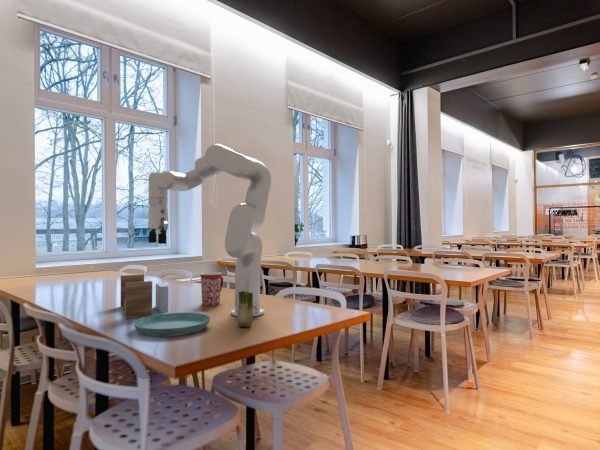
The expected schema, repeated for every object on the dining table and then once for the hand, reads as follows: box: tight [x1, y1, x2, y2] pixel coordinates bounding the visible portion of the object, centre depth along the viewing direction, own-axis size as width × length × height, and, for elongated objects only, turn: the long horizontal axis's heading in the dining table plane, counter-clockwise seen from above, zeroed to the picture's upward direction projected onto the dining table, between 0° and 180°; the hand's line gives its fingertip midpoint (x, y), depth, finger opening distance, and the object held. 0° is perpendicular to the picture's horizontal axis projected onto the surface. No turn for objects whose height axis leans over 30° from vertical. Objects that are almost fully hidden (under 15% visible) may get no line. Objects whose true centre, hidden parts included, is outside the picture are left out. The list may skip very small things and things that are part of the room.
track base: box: [119, 274, 153, 320], centre depth 162 cm, size 26×9×13 cm, turn 28°
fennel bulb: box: [236, 291, 254, 328], centre depth 138 cm, size 6×5×12 cm
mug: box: [200, 271, 224, 307], centre depth 179 cm, size 13×9×14 cm
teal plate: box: [132, 312, 211, 338], centre depth 135 cm, size 24×24×3 cm
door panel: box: [155, 282, 169, 313], centre depth 167 cm, size 12×3×10 cm, turn 28°
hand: (157, 243), depth 173 cm, fingers open, 9 cm apart
